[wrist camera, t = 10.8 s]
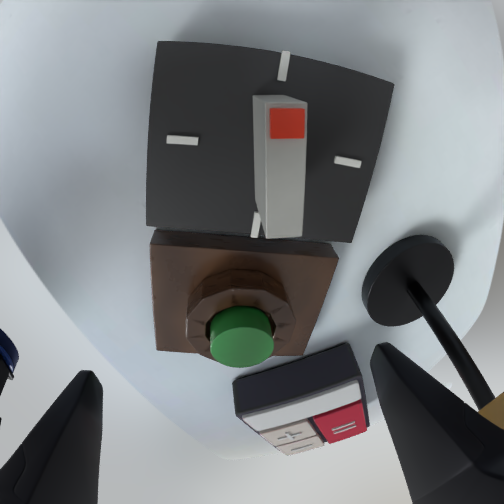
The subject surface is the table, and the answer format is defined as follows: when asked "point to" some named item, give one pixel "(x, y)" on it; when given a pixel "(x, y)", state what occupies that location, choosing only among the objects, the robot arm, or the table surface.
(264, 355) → the power button
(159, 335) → the switch block
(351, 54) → the table surface
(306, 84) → the panel
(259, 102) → the dimmer knob
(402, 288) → the desk lamp
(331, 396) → the calculator
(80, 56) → the table surface
